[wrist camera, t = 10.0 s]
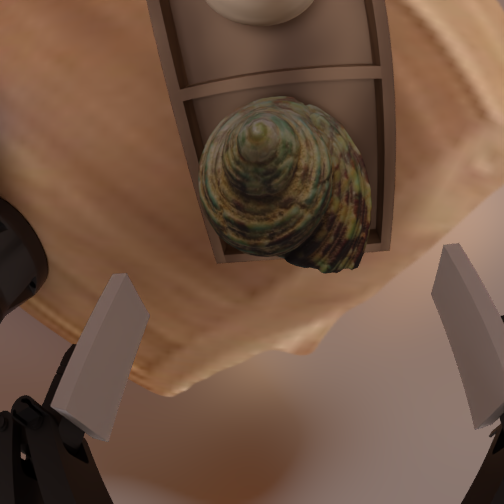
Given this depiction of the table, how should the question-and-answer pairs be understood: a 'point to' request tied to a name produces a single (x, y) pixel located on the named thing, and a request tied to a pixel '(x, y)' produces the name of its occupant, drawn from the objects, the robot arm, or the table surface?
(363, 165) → the seashell
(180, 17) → the holder
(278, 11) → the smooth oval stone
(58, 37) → the table surface
